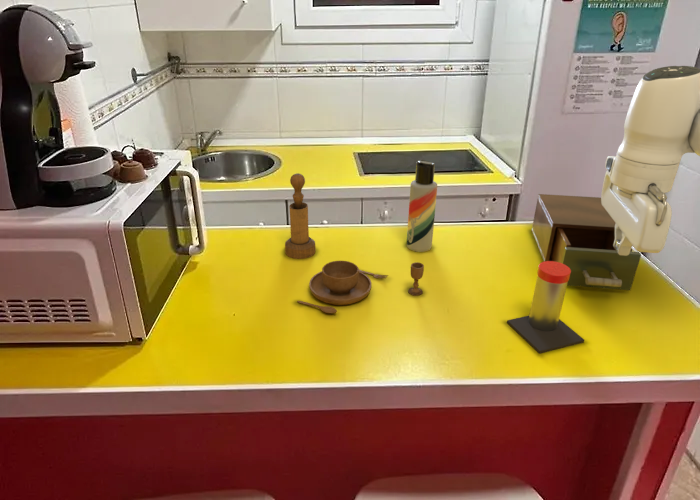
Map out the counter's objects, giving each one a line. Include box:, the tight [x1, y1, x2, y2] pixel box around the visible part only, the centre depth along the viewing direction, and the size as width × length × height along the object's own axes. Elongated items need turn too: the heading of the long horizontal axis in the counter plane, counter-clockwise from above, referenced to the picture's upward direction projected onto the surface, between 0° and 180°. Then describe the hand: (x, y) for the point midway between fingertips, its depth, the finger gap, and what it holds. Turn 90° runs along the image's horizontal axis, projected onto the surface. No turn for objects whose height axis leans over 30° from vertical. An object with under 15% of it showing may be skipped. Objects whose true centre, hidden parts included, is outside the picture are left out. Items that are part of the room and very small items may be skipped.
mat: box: [506, 315, 585, 355], centre depth 89 cm, size 9×9×1 cm
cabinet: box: [531, 193, 616, 262], centre depth 114 cm, size 17×15×10 cm
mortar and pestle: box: [284, 172, 317, 260], centre depth 110 cm, size 7×6×18 cm
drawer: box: [550, 227, 642, 291], centre depth 103 cm, size 20×13×8 cm
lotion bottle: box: [406, 159, 438, 253], centre depth 112 cm, size 6×6×20 cm
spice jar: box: [528, 261, 571, 331], centre depth 88 cm, size 5×5×11 cm
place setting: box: [296, 260, 425, 314], centre depth 97 cm, size 18×20×6 cm
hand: (620, 251), depth 89 cm, fingers closed
